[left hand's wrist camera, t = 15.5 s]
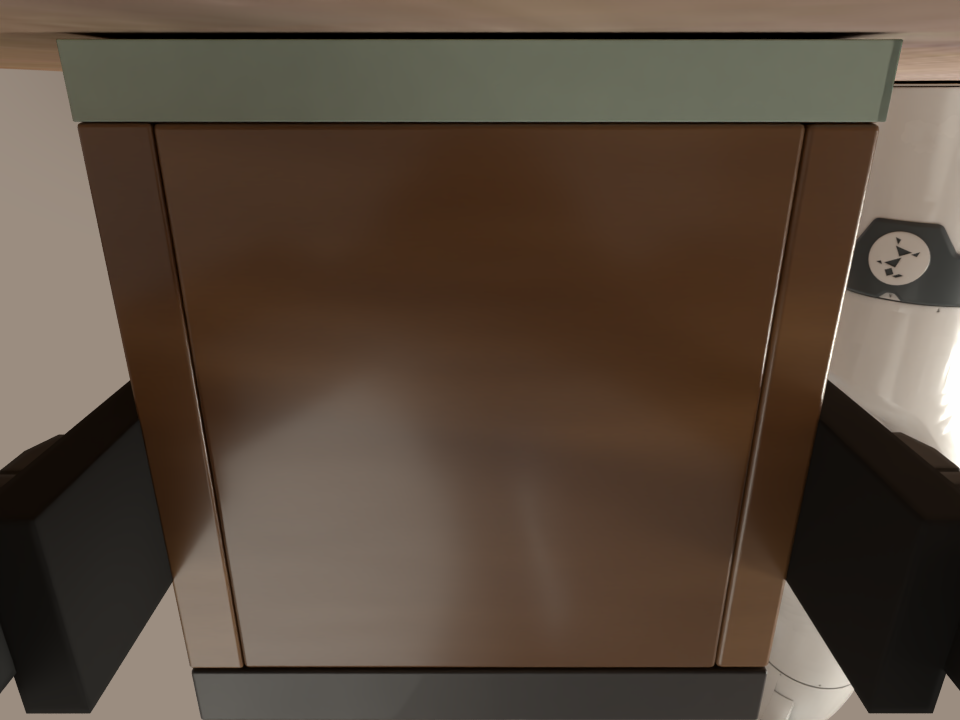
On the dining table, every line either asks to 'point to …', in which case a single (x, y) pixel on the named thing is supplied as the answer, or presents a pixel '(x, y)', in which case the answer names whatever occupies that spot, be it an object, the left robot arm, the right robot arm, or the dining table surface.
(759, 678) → the lid
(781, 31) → the dining table surface
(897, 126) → the right robot arm
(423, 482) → the chest
